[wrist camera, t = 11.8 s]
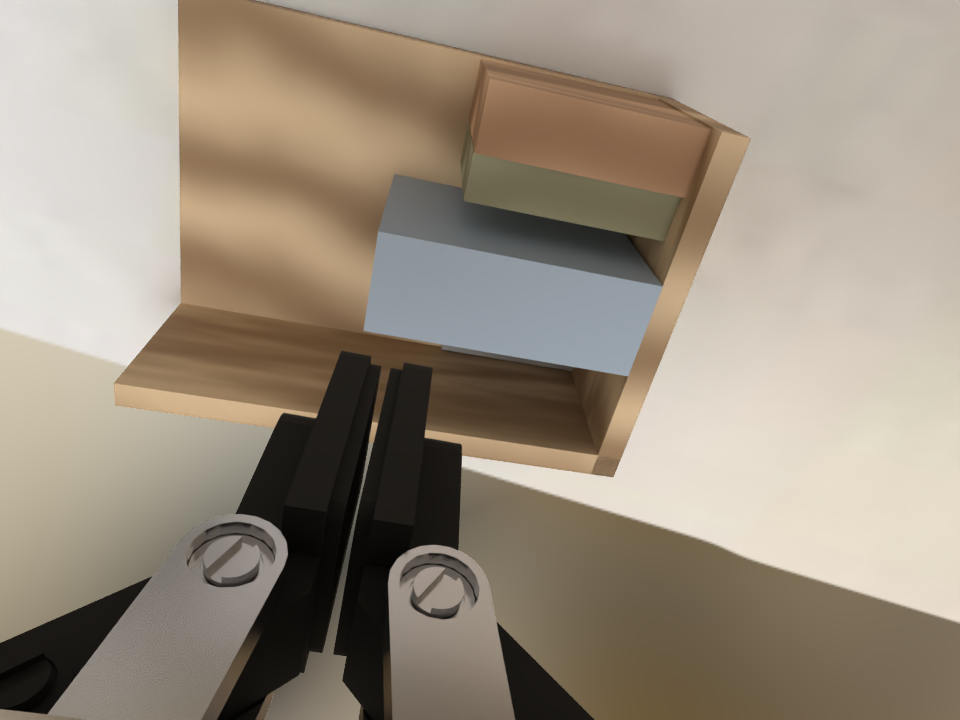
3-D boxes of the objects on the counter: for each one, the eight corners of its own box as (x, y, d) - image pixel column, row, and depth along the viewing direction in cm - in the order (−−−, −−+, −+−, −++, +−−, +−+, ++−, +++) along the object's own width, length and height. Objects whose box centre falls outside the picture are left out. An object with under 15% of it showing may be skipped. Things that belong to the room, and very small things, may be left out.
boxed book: (394, 173, 33) (378, 231, 26) (615, 219, 35) (662, 286, 27) (381, 255, 36) (363, 330, 28) (590, 294, 37) (628, 376, 30)
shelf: (189, -15, 30) (86, -15, 22) (672, 99, 34) (750, 138, 25) (190, 310, 38) (115, 405, 30) (578, 375, 42) (613, 477, 33)
